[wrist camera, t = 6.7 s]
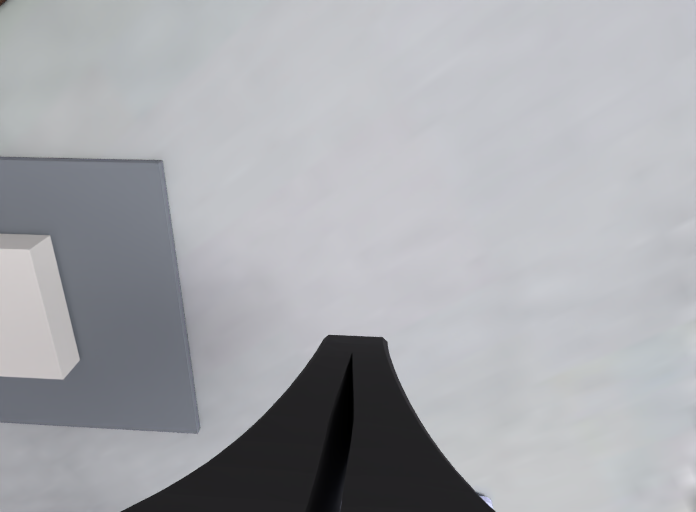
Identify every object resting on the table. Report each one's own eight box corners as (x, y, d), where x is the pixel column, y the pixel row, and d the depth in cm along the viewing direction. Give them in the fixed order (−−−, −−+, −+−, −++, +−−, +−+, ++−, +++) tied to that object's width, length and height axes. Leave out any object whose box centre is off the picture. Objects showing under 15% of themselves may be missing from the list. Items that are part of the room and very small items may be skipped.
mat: (200, 427, 27) (197, 433, 27) (-40, 414, 28) (-46, 419, 28) (162, 160, 22) (158, 163, 21) (-135, 153, 22) (-143, 156, 22)
